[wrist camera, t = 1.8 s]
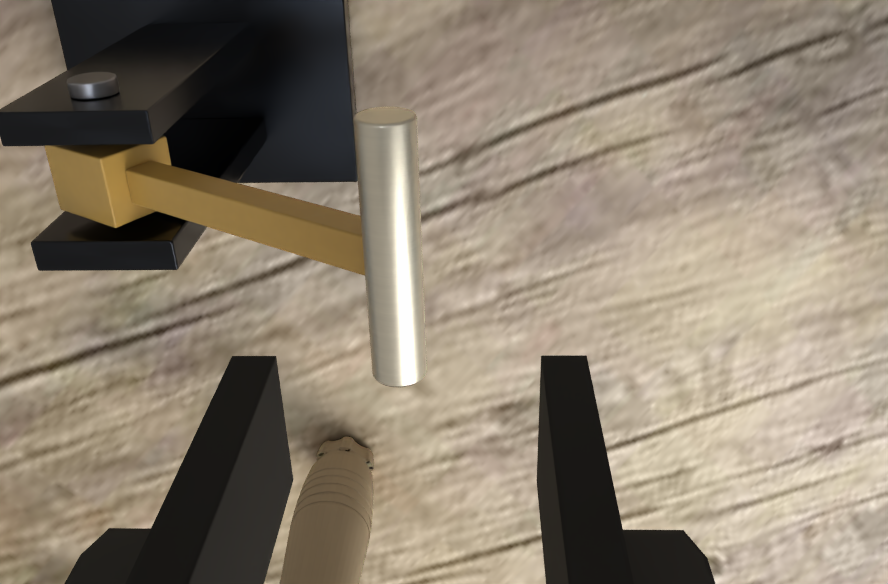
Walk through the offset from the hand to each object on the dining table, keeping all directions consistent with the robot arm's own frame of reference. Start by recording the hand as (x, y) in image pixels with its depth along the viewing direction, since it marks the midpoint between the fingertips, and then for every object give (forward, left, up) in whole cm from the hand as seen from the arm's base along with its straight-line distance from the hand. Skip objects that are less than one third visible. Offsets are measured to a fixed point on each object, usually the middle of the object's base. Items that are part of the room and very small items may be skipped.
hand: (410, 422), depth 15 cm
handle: (+6, +21, -25) cm, 33 cm away
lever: (+5, 0, -11) cm, 12 cm away
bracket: (+10, 0, -25) cm, 27 cm away
